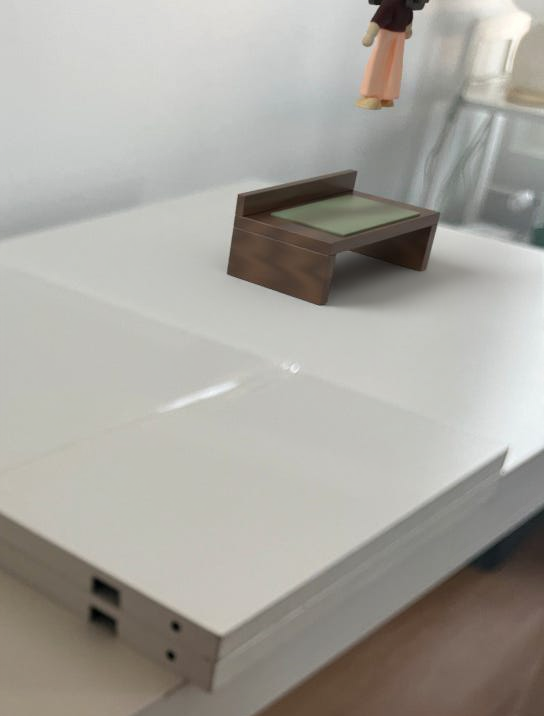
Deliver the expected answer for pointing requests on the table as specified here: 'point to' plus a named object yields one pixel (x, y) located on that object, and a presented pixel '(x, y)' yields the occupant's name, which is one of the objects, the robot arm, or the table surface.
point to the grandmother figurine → (385, 55)
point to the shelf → (322, 233)
